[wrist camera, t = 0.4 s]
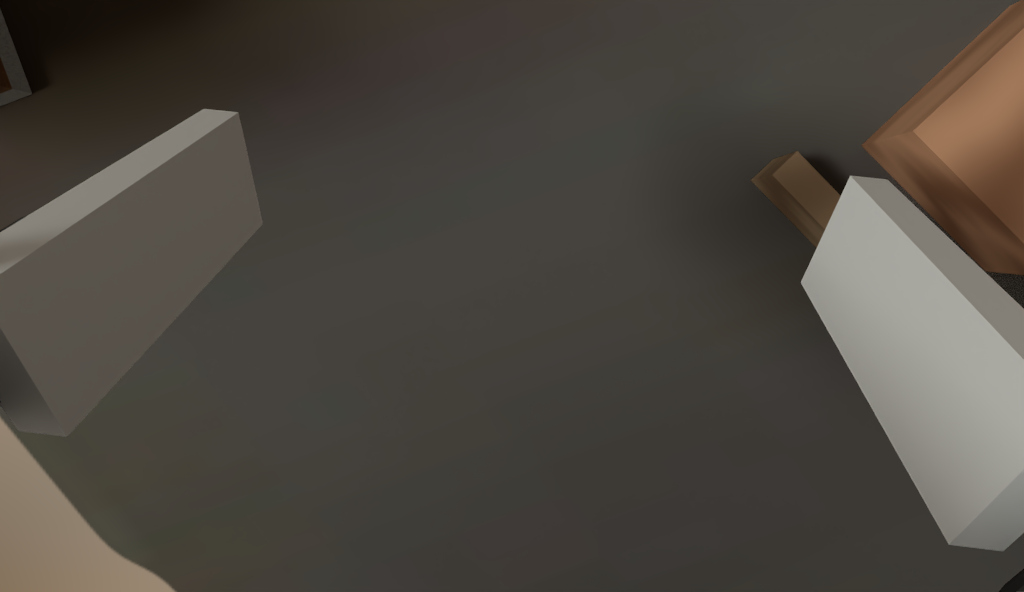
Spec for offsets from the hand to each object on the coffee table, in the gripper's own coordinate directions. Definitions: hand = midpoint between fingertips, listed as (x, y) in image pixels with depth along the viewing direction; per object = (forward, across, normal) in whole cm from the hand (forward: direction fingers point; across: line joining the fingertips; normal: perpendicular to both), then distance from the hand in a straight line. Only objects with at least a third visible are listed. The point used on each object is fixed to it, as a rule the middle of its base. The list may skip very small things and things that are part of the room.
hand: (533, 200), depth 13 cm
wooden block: (+18, -22, +3) cm, 29 cm away
